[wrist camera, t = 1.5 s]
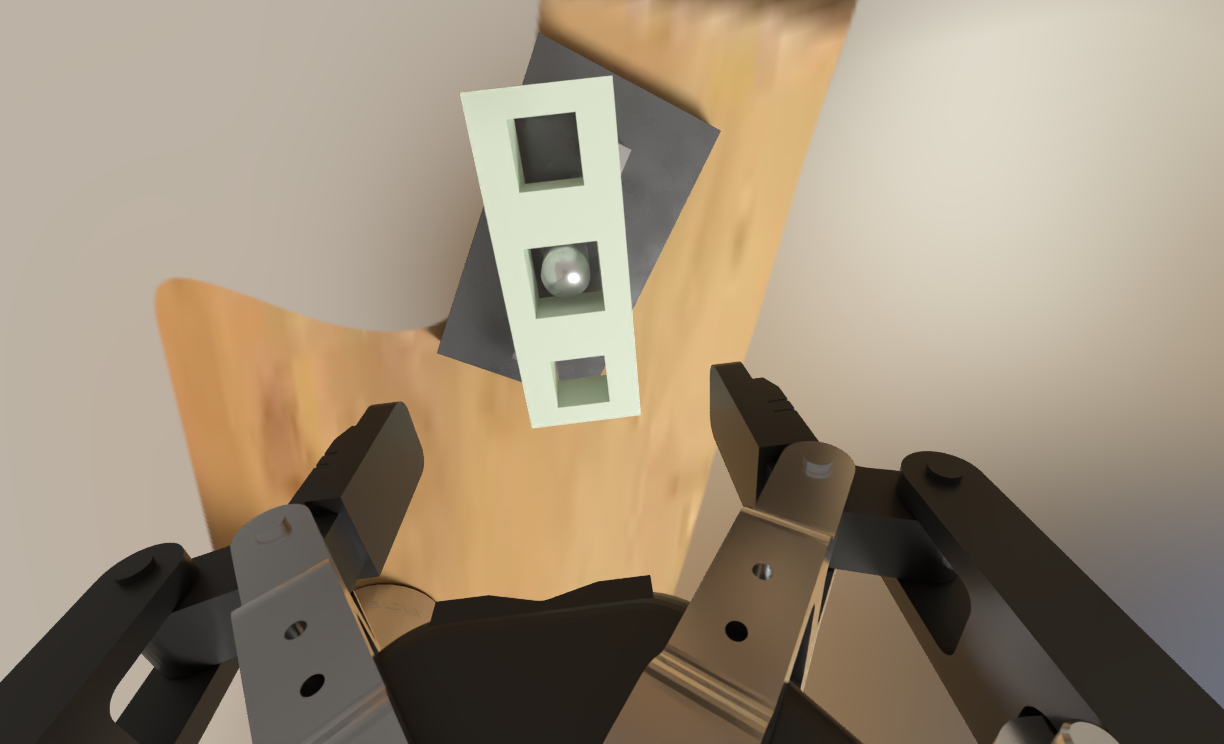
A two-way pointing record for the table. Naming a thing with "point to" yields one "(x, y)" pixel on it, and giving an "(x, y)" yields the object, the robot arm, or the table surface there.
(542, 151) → the base
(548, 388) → the flange bar
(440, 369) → the table surface
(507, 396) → the table surface
